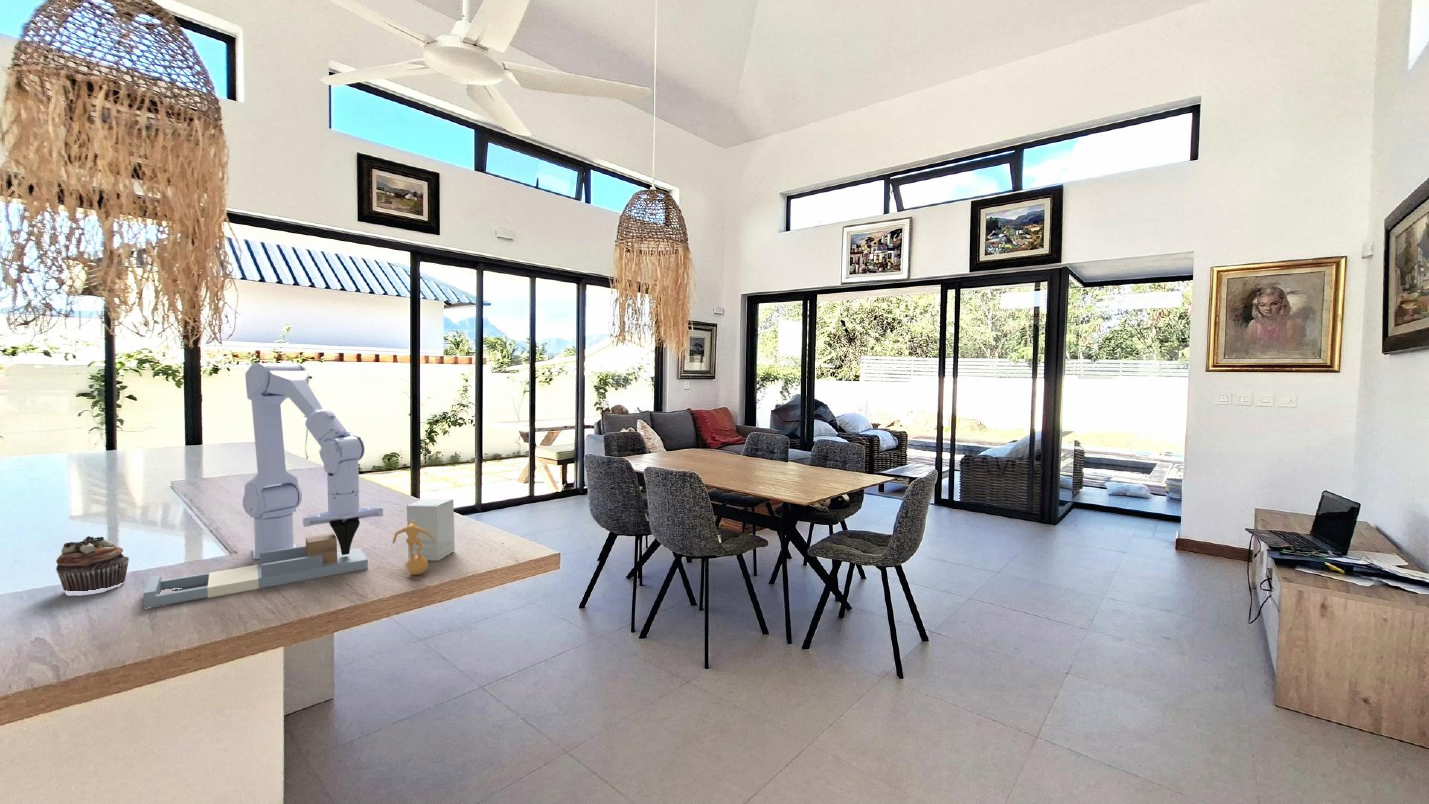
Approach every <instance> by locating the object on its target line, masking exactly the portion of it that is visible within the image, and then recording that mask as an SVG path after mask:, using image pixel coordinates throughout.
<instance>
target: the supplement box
mask: <svg viewBox="0 0 1429 804" xmlns="http://www.w3.org/2000/svg"><path fill="white" fill-rule="evenodd" d="M454 507H455V506H454V499H453V498H427V497H426V498H425V497H424V498H422V499H420V500H417V501H415V502H413V503H412V502H411V503H410V504H407V505H406V521H407V522H406V523H407V526H408V525H409V524H410V523H411V521H413V520H414V521H415V522H416V526H417V527H419V528H421V529H423V530H425V531H427V532H429V534H430V535H432V536H433V538H434V539H435V542H436V543H435V542H434V540H433V539H432V538H430V537H429V536H428V535H427V534H426V533H422V532H419V531H418V534H417V539H418V538H420V539H421V540H420V541H421V543H422V547H421V551H420V555H422V556H423V557H425V558H426V559H427V561H430V562H431V561H435V562H438V561H440V560H442V559H444V558H446V557H447V555H448V556H449V555H451V554H452V552H453V553H454V552H455V551H456V549H455V548H456V547H455V545H456V544H455V515H454V513H455V510H454ZM407 526H406V527H407ZM407 538H409V537H408V536H407ZM418 548H419V546H418V545H416V542H414V544H413V551H412V553H413V555H414V556H417V555H418V554H417V549H418ZM407 549H408V550H407V553H408V560H409V559H410V558H411V555H410V552H409V549H410V546H409V545H408V544H407ZM450 553H451V554H450ZM445 556H446V557H445Z"/></svg>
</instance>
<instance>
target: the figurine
mask: <svg viewBox="0 0 1429 804" xmlns="http://www.w3.org/2000/svg"><path fill="white" fill-rule="evenodd" d="M418 531H419V532H422V533H426V534H427V535H428V536H429V537H430V538H432V539H433V540H434V542H435V539H434V538H433V536H432V535H430V534H429V532H427V531H425V530H423V529H421V528H419V527H417V526H416V522H415V521H414V520H413V521H411V523H410V524H409V525H408V526H406V527H403V528H402V529H399V530H398V531H396V532H395V533H394V537H393V539H392V544H395V543H397V542H396V541H397V536H398V535H399V534H402V533H406V535H407V538H406V543H407V546H408V545H409V546H410V549H409V552H410V555H411V558H410V559H409V558H408V561H407V563H406V570H407V572H408V573H409V574H411V575H414V576H420V575H421V574H424V573H425V572H426V571H427V569H428V566H429V562H428V561H429V560H427V559H426V558H425V557H423V556H422V555H420V551H421V547H422V543H421V541H420V540H421V539H420V538H418V539H417V534H418ZM408 537H409V538H408ZM414 542H416V545H418V546H419V548H418V549H417V554H418V555H417V556H414V555H413V553H412V551H413V544H414ZM435 543H436V542H435Z"/></svg>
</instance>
